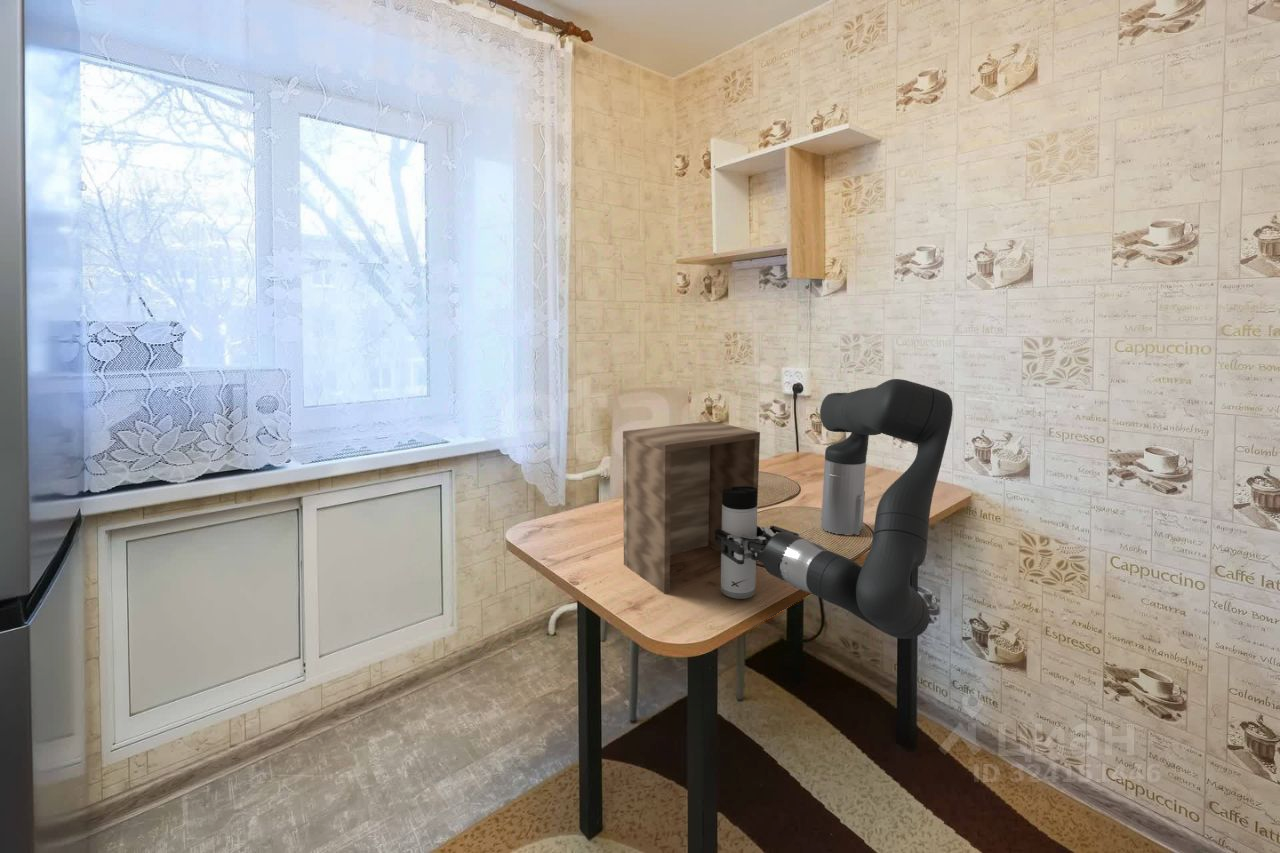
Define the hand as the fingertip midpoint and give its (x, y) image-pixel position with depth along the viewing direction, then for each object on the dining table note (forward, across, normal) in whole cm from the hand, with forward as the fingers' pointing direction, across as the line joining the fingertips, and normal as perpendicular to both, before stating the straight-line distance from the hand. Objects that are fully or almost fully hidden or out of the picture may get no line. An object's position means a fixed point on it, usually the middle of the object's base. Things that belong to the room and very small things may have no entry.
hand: (731, 530), depth 103 cm
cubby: (+12, 0, +12) cm, 17 cm away
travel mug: (-2, 0, +11) cm, 11 cm away
